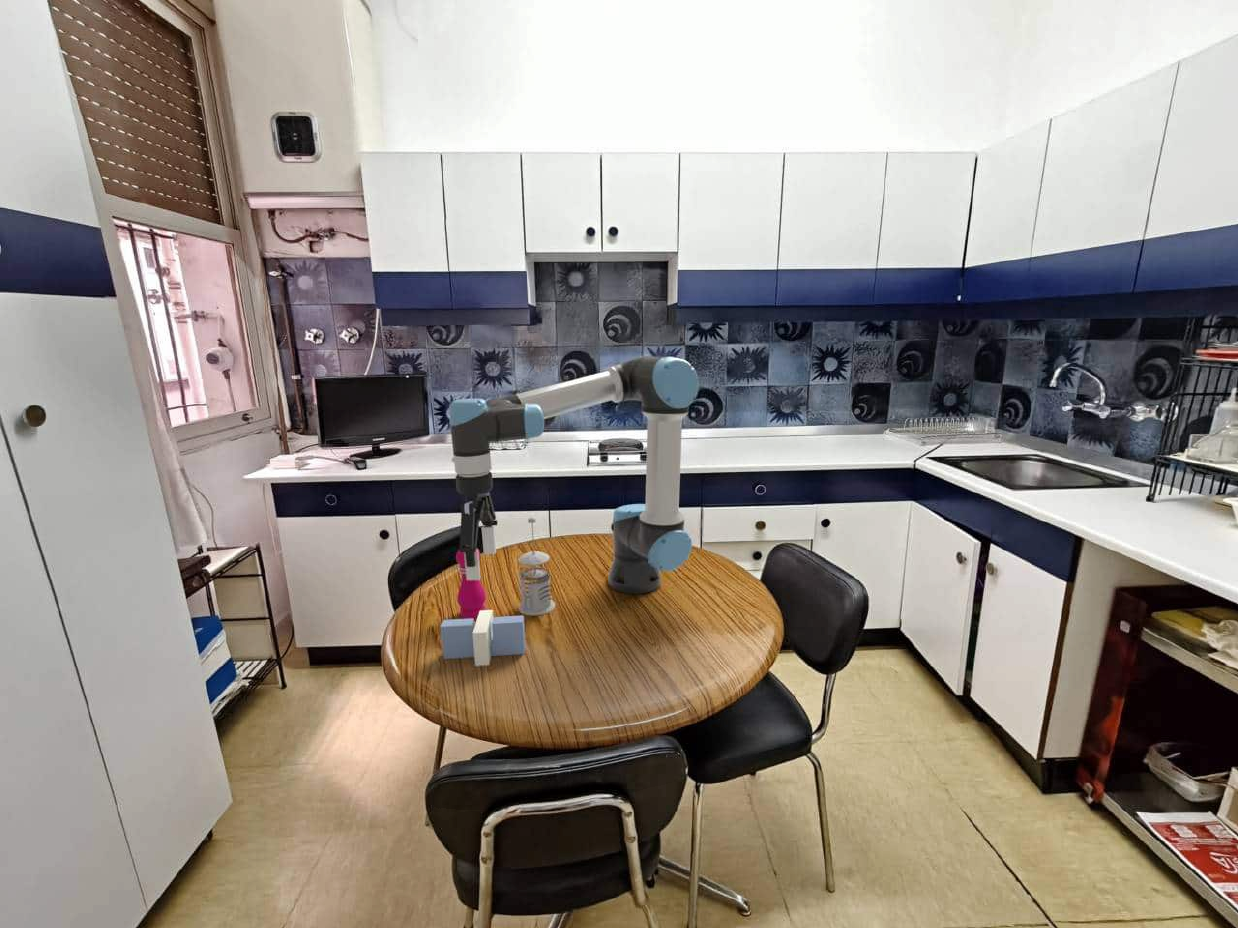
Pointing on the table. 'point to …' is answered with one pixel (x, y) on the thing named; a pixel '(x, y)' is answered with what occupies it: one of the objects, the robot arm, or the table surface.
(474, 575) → the robot arm
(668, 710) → the table surface
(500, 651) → the blue batten
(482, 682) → the table surface
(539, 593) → the french press
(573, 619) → the table surface
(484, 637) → the white notched block
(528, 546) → the table surface
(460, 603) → the pepper mill
